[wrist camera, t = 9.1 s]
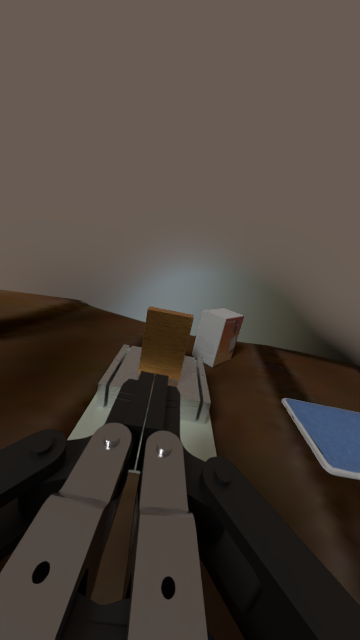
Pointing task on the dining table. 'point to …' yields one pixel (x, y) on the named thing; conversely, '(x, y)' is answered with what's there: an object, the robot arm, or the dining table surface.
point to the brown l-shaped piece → (165, 342)
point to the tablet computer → (329, 435)
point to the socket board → (191, 434)
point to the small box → (217, 336)
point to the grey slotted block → (127, 367)
